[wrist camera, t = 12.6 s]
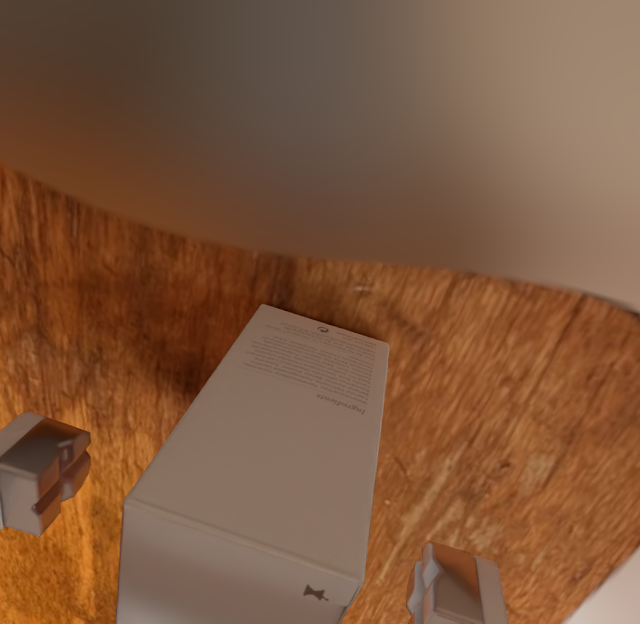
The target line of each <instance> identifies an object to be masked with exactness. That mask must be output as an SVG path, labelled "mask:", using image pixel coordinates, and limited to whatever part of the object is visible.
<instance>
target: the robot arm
mask: <svg viewBox="0 0 640 624" xmlns="http://www.w3.org/2000/svg"><path fill="white" fill-rule="evenodd" d="M90 444H91V438H90V433H89V432H87V431H85V430H82V429H79V428H76V427H74V426H71V425H68V424H65V423H62V422H59V421H57V420H54V419H51V418H48V417H45V416H42V415H39V414H36V413H33V412H30V411H28V412H25V413H22V414H20V415H19V416H18V417H16V418H15V419H14V420H13V421H12V422H10V423H9V424H8V425H7V426H6V427H4V428H3V429H2V430H1V431H0V530H1V529H3V528H4V526H6V527H10V528H13V529H16V530H19V531H23V532H26V533H29V534H33V535H36V536H39V537H40V536H41V535H42V534H43V533H44V532H45V530H46V529H47V528H48V527H49V526H50V524H51V523H52V522H53V521H54V520H55V518H56V517H57V516H58V515H59V514H60V513H61V502H63V501H65V500H67V499H69V498H72V497H74V496H75V494H76V493H77V492H78V491H79V489H80V488H81V487H82V485H83V483H84V481H85V479H86V477H87V476H88V473H89V469H90V465H91V457H90V455H89V454H88V452H87V451H86V448H87V447H88V446H89V445H90ZM406 608H407V609H408V611H409V613H410V615H411V619H410V620H409V622H408V624H508V618H507V613H506V607H505V601H504V596H503V590H502V584H501V579H500V573H499V567H498V565H497V563H496V562H495V561H492V560H489V559H486V558H483V557H479V556H476V555H472V554H471V553H468V552H465V551H462V550H458V549H455V548H452V547H448V546H445V545H442V544H439V543H435V542H432V541H428V542H427V543H426V544H425V546H424V547H423V549H422V560H421V561H419V562H416V563H415V565H414V567H413V569H412V571H411V574H410V578H409V582H408V586H407V595H406Z"/></svg>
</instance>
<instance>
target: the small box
mask: <svg viewBox="0 0 640 624" xmlns="http://www.w3.org/2000/svg"><path fill="white" fill-rule="evenodd" d="M388 356H389V344H388V343H386V342H383V341H380V340H376V339H373V338H370V337H367V336H364V335H360V334H357V333H354V332H351V331H348V330H345V329H342V328H338V327H335V326H332V325H328V324H325V323H322V322H319V321H316V320H312V319H309V318H306V317H303V316H300V315H296V314H293V313H290V312H287V311H284V310H281V309H278V308H274V307H271V306H268V305H265V304H262V305H261V306H260V307H259V308H258V310H257V311H256V313H255V314H254V315H253V317H252V318H251V320H250V321H249V322H248V324H247V325H246V326H245V328H244V329H243V331H242V332H241V334H240V335H239V337H238V338H237V339H236V341H235V342H234V344H233V345H232V347H231V348H230V349H229V351H228V352H227V354H226V355H225V357H224V358H223V360H222V361H221V362H220V364H219V365H218V367H217V368H216V370H215V371H214V372H213V374H212V375H211V377H210V378H209V379H208V381H207V382H206V384H205V385H204V387H203V388H202V390H201V391H200V393H199V394H198V395H197V397H196V398H195V400H194V401H193V402H192V404H191V405H190V407H189V408H188V410H187V411H186V412H185V414H184V415H183V417H182V418H181V420H180V421H179V422H178V424H177V425H176V427H175V428H174V430H173V431H172V433H171V434H170V436H169V437H168V438H167V440H166V441H165V443H164V444H163V446H162V447H161V448H160V450H159V451H158V453H157V454H156V456H155V457H154V458H153V460H152V461H151V463H150V464H149V465H148V467H147V468H146V470H145V471H144V473H143V474H142V475H141V477H140V478H139V480H138V481H137V483H136V484H135V485H134V487H133V488H132V489H131V491H130V492H129V494H128V495H127V496H126V498H125V499H124V501H123V515H122V528H121V542H120V559H119V575H118V593H117V607H116V623H115V624H341V622H342V620H343V618H344V616H345V614H346V612H347V610H348V609H349V607H350V606H351V605H352V603H353V601H354V599H355V598H356V596H357V594H358V592H359V591H360V589H361V587H362V586H363V584H364V579H365V568H366V557H367V548H368V539H369V530H370V521H371V512H372V502H373V491H374V484H375V476H376V468H377V459H378V452H379V442H380V434H381V425H382V415H383V405H384V395H385V387H386V377H387V366H388Z"/></svg>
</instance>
